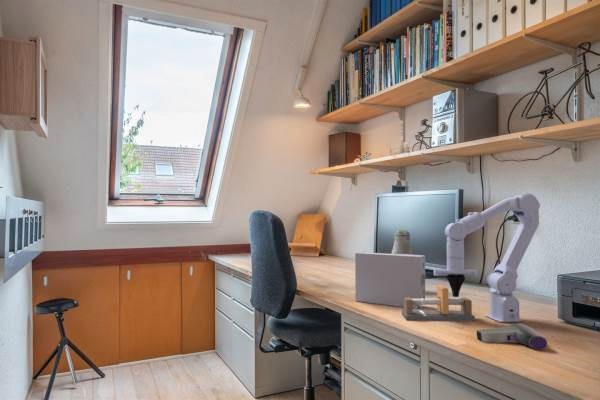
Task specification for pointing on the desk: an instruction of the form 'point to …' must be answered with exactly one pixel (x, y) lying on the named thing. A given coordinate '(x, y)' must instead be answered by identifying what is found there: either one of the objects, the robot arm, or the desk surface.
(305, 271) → the desk surface
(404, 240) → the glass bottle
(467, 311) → the pipe stand
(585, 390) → the desk surface
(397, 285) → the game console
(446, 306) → the collar
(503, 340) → the infrared thermometer
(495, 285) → the robot arm
